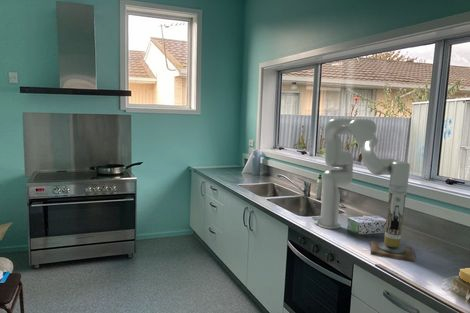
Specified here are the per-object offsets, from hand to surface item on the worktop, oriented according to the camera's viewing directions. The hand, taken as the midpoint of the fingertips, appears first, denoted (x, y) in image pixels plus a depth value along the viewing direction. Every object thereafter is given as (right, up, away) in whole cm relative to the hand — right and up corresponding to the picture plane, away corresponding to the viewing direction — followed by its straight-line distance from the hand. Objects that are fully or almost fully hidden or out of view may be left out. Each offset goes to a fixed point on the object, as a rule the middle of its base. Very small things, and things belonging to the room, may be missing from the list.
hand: (393, 226), depth 165 cm
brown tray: (-1, -12, +1) cm, 12 cm away
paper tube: (0, -9, +1) cm, 9 cm away
